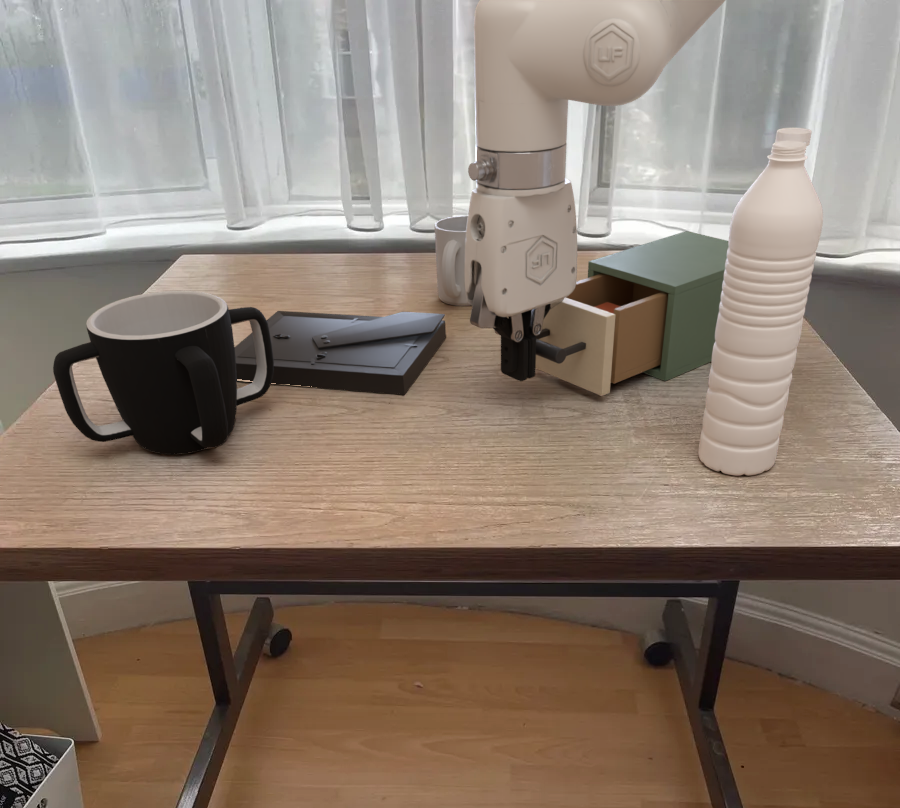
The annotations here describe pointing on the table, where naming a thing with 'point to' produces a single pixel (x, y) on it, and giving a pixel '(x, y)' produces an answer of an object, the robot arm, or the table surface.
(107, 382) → the mug
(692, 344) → the cabinet
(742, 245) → the water bottle
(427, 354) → the picture frame
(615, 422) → the table surface
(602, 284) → the drawer
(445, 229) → the cup
